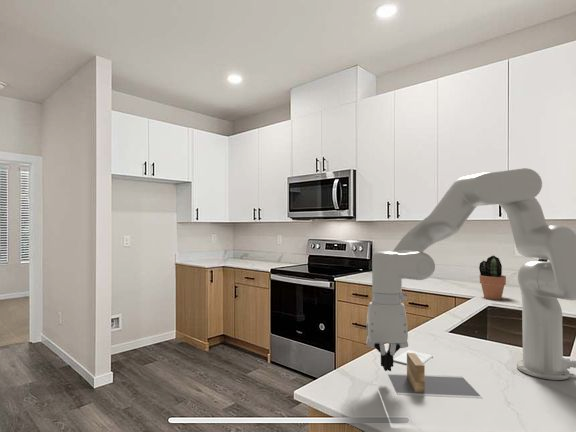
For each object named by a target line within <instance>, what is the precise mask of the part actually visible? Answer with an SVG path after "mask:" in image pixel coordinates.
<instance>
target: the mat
mask: <svg viewBox="0 0 576 432" xmlns="http://www.w3.org/2000/svg"><path fill="white" fill-rule="evenodd" d="M387 375H388V377H389V381H390V382H391V384H392V386H393V389H394V390H395V392H396V394H397V395H398V396H421V397H442V398H444V397H445V398H465V399H469V398H471V399H483V396H481V395H480V394H479V392H478V391H477V390H476V389H475V388H474V387H473V386H472V385H471V384H470V383H469V382H468V381H467V380H466V379H465V378H464V376H463V375H445V374H444V375H441V374H425V392H415V390H414V388H413V386H412V385H411V383H410V381H409V380H408V378H407V373H390V372H388V373H387Z"/></svg>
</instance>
